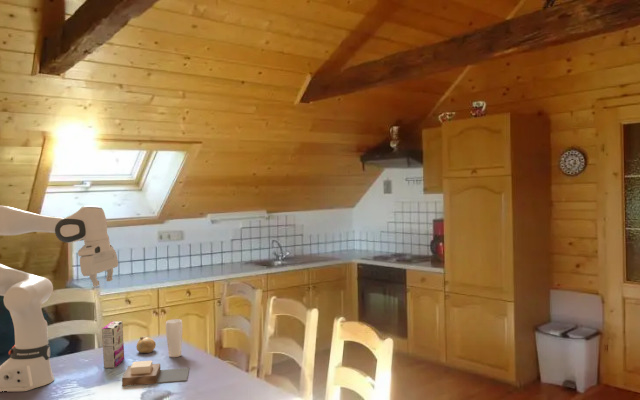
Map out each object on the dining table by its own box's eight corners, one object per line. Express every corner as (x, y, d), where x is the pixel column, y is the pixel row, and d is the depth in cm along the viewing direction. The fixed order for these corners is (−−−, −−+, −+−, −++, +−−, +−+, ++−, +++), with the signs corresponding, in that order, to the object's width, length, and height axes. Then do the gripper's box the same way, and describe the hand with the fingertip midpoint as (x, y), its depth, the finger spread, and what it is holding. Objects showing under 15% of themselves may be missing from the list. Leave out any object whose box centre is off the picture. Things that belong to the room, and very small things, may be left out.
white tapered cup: (166, 354, 244) (165, 319, 244) (182, 352, 246) (181, 318, 246) (167, 359, 238) (166, 323, 237) (183, 357, 240) (182, 322, 239)
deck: (122, 386, 207) (121, 378, 207) (128, 373, 221) (128, 365, 221) (156, 383, 209) (156, 375, 209) (160, 371, 223) (160, 363, 223)
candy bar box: (112, 359, 239) (111, 321, 238) (124, 359, 239) (123, 320, 238) (102, 368, 228) (101, 328, 227) (115, 368, 228) (113, 327, 227)
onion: (151, 348, 254) (150, 332, 254) (158, 352, 248) (158, 336, 248) (133, 352, 249) (133, 336, 249) (141, 356, 243) (140, 339, 243)
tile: (130, 374, 211) (130, 367, 211) (133, 368, 218) (133, 361, 218) (150, 372, 212) (149, 366, 212) (152, 366, 219) (152, 360, 219)
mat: (156, 383, 209) (156, 382, 209) (160, 371, 223) (160, 370, 223) (186, 381, 211) (186, 379, 211) (189, 368, 225) (189, 367, 225)
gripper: (104, 244, 226) (109, 278, 227) (74, 252, 206) (80, 289, 207) (119, 242, 225) (124, 277, 226) (90, 250, 205) (96, 288, 206)
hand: (103, 283), depth 216 cm, fingers open, 8 cm apart
